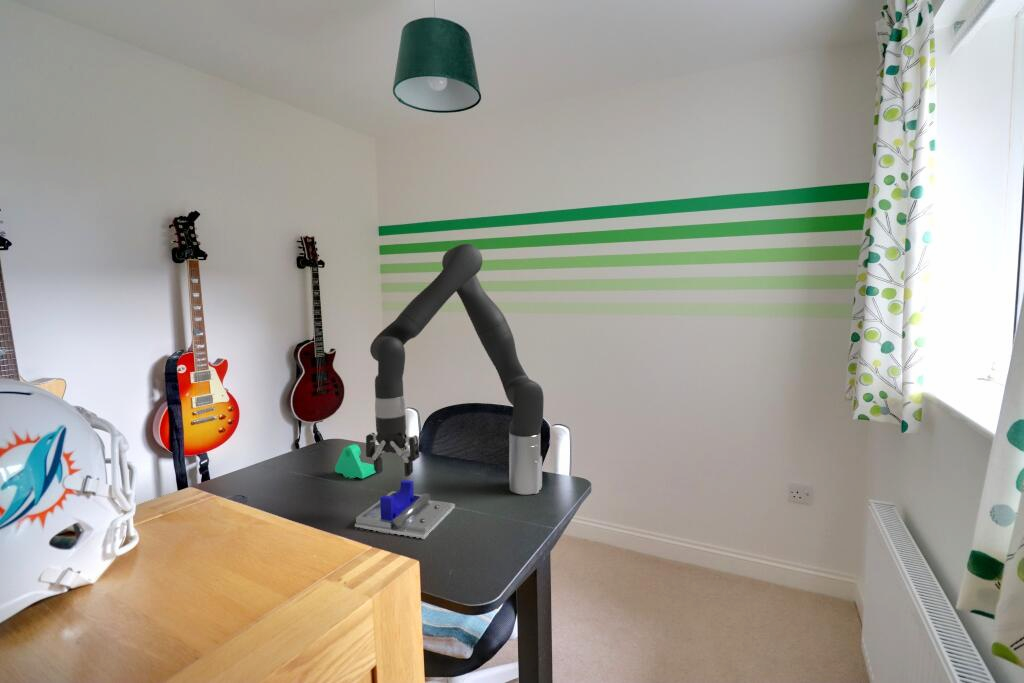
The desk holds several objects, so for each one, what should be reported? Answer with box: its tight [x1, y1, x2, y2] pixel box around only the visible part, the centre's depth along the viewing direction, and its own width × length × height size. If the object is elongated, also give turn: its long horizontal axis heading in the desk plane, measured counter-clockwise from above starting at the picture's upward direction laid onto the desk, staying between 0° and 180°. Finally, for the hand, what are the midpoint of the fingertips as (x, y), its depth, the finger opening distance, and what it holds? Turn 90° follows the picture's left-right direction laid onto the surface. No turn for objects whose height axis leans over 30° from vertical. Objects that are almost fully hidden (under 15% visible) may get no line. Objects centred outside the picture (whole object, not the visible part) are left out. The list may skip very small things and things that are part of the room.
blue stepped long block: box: [379, 479, 415, 521], centre depth 125 cm, size 12×4×6 cm, turn 165°
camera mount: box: [334, 443, 376, 479], centre depth 154 cm, size 12×8×10 cm, turn 62°
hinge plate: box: [354, 490, 456, 540], centre depth 124 cm, size 19×18×3 cm
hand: (393, 474), depth 124 cm, fingers open, 8 cm apart
